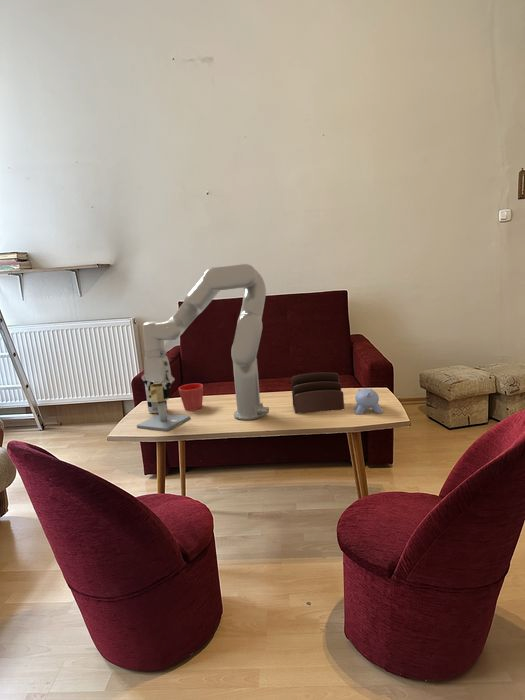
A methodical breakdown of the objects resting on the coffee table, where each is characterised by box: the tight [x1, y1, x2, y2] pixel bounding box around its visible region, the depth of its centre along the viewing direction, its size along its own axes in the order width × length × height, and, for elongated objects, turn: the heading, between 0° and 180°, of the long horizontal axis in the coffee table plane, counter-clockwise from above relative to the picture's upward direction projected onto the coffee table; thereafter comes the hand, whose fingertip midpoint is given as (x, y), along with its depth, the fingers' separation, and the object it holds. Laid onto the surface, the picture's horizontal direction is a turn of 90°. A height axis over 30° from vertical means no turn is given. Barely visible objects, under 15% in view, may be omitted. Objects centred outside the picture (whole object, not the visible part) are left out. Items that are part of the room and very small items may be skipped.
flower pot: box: [178, 383, 204, 411], centre depth 198 cm, size 11×11×10 cm
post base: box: [136, 403, 191, 432], centre depth 181 cm, size 15×15×8 cm
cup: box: [148, 382, 170, 402], centre depth 178 cm, size 9×7×6 cm
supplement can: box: [144, 382, 168, 414], centre depth 196 cm, size 8×8×15 cm
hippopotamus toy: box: [353, 387, 384, 415], centre depth 177 cm, size 11×15×10 cm
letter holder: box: [290, 371, 345, 414], centre depth 183 cm, size 10×20×14 cm, turn 91°
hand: (159, 396), depth 179 cm, fingers closed on cup, 6 cm apart
